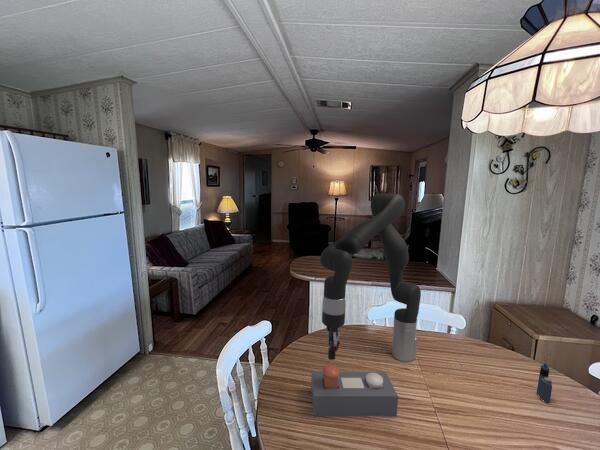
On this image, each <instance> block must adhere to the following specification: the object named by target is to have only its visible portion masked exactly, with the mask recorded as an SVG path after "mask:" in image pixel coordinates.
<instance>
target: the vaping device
mask: <svg viewBox="0 0 600 450" xmlns="http://www.w3.org/2000/svg"><path fill="white" fill-rule="evenodd" d="M549 376H550V367H549V366H548V364H547V363H543V364H542V365H540V370H539V374H538V380H537V381H538V383H537V388H536V394H537V393H538V395H539V396H540V398H541V399H542V400H544V401H546V402H549V403H550V402H551V398H552V397H551V396H552V390H553V383H552V379H551V378H550V377H549ZM538 395H537V396H538ZM539 396H538V397H539ZM540 398H539V399H540ZM541 399H540V400H541ZM542 400H541V401H542ZM546 402H545V403H546Z"/></svg>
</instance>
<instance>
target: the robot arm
mask: <svg viewBox="0 0 600 450" xmlns="http://www.w3.org/2000/svg"><path fill="white" fill-rule="evenodd" d="M405 204H406V202H405V199H404V197H403V196H402V195H400V194H396V193H375V194H374V195H373V196H372V197H371V200H370V211H371V215H372V217H370V218H369V219H366V220H364V221H362V222H360V223H358V224H356V225H355V226H353V228H352V229H350V230H349V231H348V232H347V233H346V234H345V235H344V236H343V237H341V238H340V239H338V240H336V241H334V242H333V243H331V244H330V245H328V246H327V247H326V248H324V249H323V251H322V252H321V253H320V254H321V255H320V258H319V259H320V260H319V262H320V264H321V266H322V267H323V268H325V269H327V270H330V271H333V272H334V274H333V276H328V277H326V278H325V279H324V283H323V298H322V305H321V307H322V308H321V323H322V324H323V325H324V326H325V327H326V328H325V330H326V340H327V350H328V352H327V358H328V360H330V361H331V360H332V361H335V360H336V352H337V351H338V349H339V347H340V344H341V343H340V340H339V338H340V334H341V332H340V329H339V328H341V327H343V326H344V325H345V322H346V307H347V306H346V302H347V301H346V292H347V291H346V290H347V289H346V288H347V287H346V286H347V283H348V279H349V277H350V274H351V271H352V267H353V258H352V257H353V256H352V255H357V254H358V253H360V251H361V250H362V249H363V248H364V247H365V246H366V245H367V244H368V243H369V241H371V240H372V239H373V238H374V237H375V236H376V235H377V234H378V235H379V239H380V242H381V246H382V251H383V255H384V259H385V263H386V268H387V272H388V277H389V285H390V291H391V296H392V298H393V299H394V301H396V302H398V303H401V304H403V305H406V306H405V307H406V308H398V309H396V310H394V315H393V328H392V341H391V342H392V344H391V345H392V346H391V355H392V357H393V358H394V359H395V360H398V361H401V362H407V363H408V362H411V361H414V360H415V361H416V358H417V347H418V338H417V337H416V334H417V323H418V316H419V312H420V311H419V310H420V304H421V297H422V293H421V292H422V291H421V288H420V286H419V285H417V284H413V283H411V282H408V281H405V280H404V279H403V274H402V273H403V271H404V270H405V269H406V267H407V266H408V263H409V260H410V255H409V251H408V250H409V249H408V246H407V242H406V241H405V240H404V238H403V236H402V235H401V234H400V233H399V232H398V231H397V230H396V228H395V227H394V226H393V224H392V223H394V222H395V221H396V220H398V219H400V217H401V216H402V215H403V213H404V211H405V208H406V207H405Z"/></svg>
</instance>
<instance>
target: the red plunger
mask: <svg viewBox="0 0 600 450" xmlns="http://www.w3.org/2000/svg"><path fill="white" fill-rule="evenodd" d="M322 372H323V386H324V388H338V377H339V372H340V368H339V367H338V366H337V365H335V364H326V365H325V364H324V366H323V368H322Z"/></svg>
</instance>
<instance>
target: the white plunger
mask: <svg viewBox="0 0 600 450" xmlns="http://www.w3.org/2000/svg"><path fill="white" fill-rule="evenodd" d="M366 383H367V385H368V387H369V389H383V386H382V385H383V378H382V376H380V375H379V374H377V373H368V374H367V375H366Z"/></svg>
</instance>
